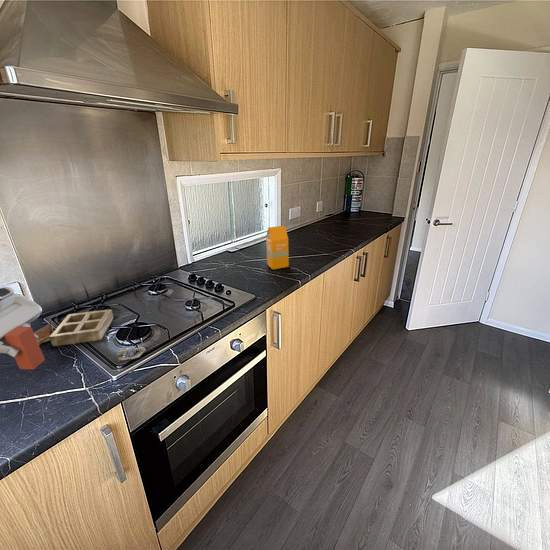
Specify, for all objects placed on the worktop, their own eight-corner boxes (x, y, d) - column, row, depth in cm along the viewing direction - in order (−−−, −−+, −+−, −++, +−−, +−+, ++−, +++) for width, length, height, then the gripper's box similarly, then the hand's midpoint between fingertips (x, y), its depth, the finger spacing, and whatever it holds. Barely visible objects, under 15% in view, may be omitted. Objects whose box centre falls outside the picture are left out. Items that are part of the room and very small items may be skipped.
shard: (52, 325, 101) (50, 321, 101) (71, 327, 100) (69, 322, 99) (22, 344, 92) (20, 339, 91) (42, 346, 90) (40, 341, 89)
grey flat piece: (113, 354, 86) (112, 349, 85) (142, 343, 90) (140, 338, 90) (119, 366, 81) (118, 360, 80) (149, 353, 86) (147, 348, 85)
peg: (19, 369, 71) (3, 335, 67) (31, 359, 74) (16, 326, 70) (33, 369, 71) (18, 335, 67) (45, 359, 74) (30, 326, 70)
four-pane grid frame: (52, 346, 90) (49, 337, 89) (71, 322, 103) (68, 314, 101) (101, 339, 93) (98, 330, 91) (113, 317, 105) (111, 309, 104)
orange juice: (288, 266, 146) (288, 227, 138) (272, 269, 143) (271, 229, 135) (282, 261, 152) (282, 223, 144) (266, 264, 149) (265, 225, 142)
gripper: (-78, 329, 57) (-9, 369, 60) (14, 283, 75) (63, 316, 79) (-87, 347, 59) (-20, 385, 62) (5, 298, 77) (52, 330, 81)
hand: (27, 346), depth 70 cm, fingers closed on peg, 3 cm apart
